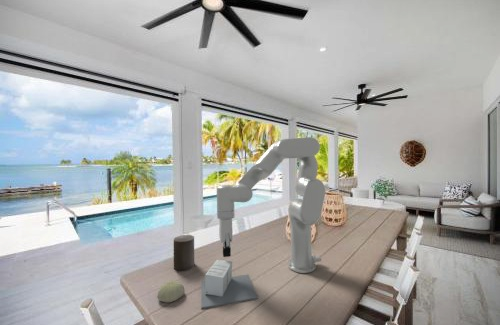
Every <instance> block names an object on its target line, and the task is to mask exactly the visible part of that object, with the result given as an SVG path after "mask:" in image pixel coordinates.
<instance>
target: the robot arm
mask: <svg viewBox="0 0 500 325" xmlns="http://www.w3.org/2000/svg"><path fill="white" fill-rule="evenodd" d="M320 149H321V144H320V142H319V141H318V139H316V138H314V137H312V136H311V137H310V136H309V137H308V136H307V137H297V138H282V139H280V140H277V141H275V142H273V143H272V144H271V145H270V146H269V148H268V149H267V150H266V151H265V152H264V154H262V156H260V158H259V159H257V161H256V163H255V164H253V165H252V166H251V167H250V168H249V169H248V170H247V171H246V172H245V173H244V174H243V175H242V176H241V178H240V179H239V180H238V181H237V182H236V183H235V184H234V186H232V185H229V184H225V185H223V184H222V185H219V186H217V187H216V214H217V216H216V218H217V219H218V220H219V221H218V222H219V224H218V225H219V228H218V229H219V234H218V235H219V242H220V243H221V244H222V256H223V257H224V258H227V257H231V256H232V255H231V243H232V242H233V219H234V218H235V203H248V202H249V201H250V200H252V198H253V190H252V189H253V188H254V187H255V186H256V185H257V184H258V183H259V182H261V181H262V180H264V179H267V178H268V177H270V175H272V174H273V172H274V171H275V170H276V169H277V167H279V166H280V165H281V163H282V162H283V161H284V160H286V159H287V160H288V159H297V161H298V164H299V165H298V173H297V177H296V182H295V187H294V189H295V192H296V194H297V195H299V196H300V197H302V198H296V199H292V200H291V202H290V203H289V204H288V210H287V211H288V218H289V225H290V229H289V230H290V260H288V262H287V267H288V268H289V269H290V270H291V271H293V272H296V273H299V274H300V273H301V274H307V273H308V274H309V273H311V272H314V271H315V270H316V264H315V263H316V262H322V257H321V256H316V255H313V252H312V226H313V225H316V224H317V223H318V221H319V220H320V218H321V215H322V211H323V206H324V201H325V196H326V189H325V188H326V186H325V184H324V183H323V181H322V180H320V179H319V178H317V176H318V168H319V167H318V160H317V158H316V155H318V154H319V152H320Z"/></svg>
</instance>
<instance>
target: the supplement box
mask: <svg viewBox="0 0 500 325" xmlns="http://www.w3.org/2000/svg"><path fill="white" fill-rule="evenodd" d="M232 277H233V261H231V260H224V259H223V260H221V259H216V260H215V261H214V262H213V264H212V265H211V266H210V268H209V269H208V271H207V272H206V273H205V275H204V281H205V294H209V295H215V296H222V297H223V295H224V293H225V291H226V289H227V287H228V285H229V283H230V281H231V279H232Z"/></svg>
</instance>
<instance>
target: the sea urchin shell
mask: <svg viewBox="0 0 500 325" xmlns="http://www.w3.org/2000/svg"><path fill="white" fill-rule="evenodd" d="M184 294H185V285H184V284H183V283H182V282H181V281H179V280H172V281H168V282H165V283H163V285H161V286H160V288H159V290H158V292H157V299H158V300H159V301H160V302H163V303H167V304H168V303H174V302H175V301H177V300H179V299H180V298H181V297H182V296H183V295H184Z"/></svg>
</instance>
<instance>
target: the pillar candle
mask: <svg viewBox="0 0 500 325" xmlns="http://www.w3.org/2000/svg"><path fill="white" fill-rule="evenodd" d="M194 267H195V236H194V235H192V234H182V235H177V236H176V237H174V238H173V270H175V271H177V272H184V271H187V270H189V271H190V269H192V268H194Z"/></svg>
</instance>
